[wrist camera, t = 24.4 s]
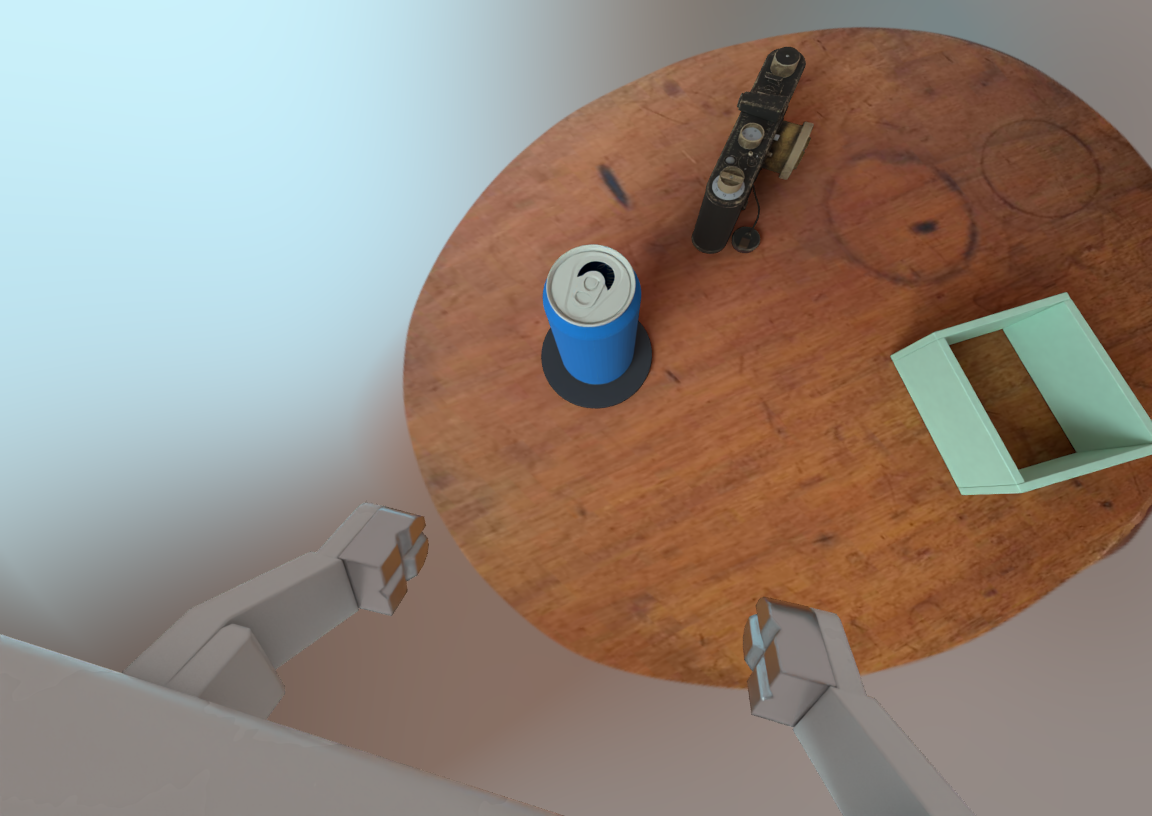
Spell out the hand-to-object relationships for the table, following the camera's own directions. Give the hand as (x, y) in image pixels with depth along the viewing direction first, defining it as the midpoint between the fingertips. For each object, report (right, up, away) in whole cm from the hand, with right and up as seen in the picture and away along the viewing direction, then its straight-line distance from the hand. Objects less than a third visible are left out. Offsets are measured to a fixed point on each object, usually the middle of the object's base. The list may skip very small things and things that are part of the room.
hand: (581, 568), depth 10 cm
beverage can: (+2, +9, +28) cm, 29 cm away
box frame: (+33, +4, +24) cm, 41 cm away
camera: (+17, +25, +31) cm, 43 cm away
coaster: (+2, +9, +28) cm, 29 cm away
